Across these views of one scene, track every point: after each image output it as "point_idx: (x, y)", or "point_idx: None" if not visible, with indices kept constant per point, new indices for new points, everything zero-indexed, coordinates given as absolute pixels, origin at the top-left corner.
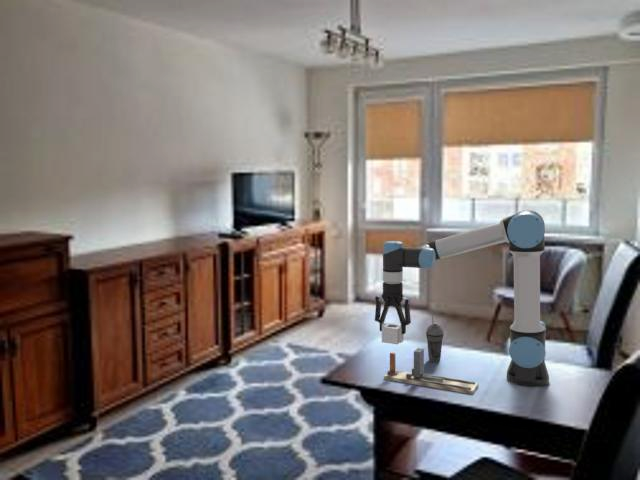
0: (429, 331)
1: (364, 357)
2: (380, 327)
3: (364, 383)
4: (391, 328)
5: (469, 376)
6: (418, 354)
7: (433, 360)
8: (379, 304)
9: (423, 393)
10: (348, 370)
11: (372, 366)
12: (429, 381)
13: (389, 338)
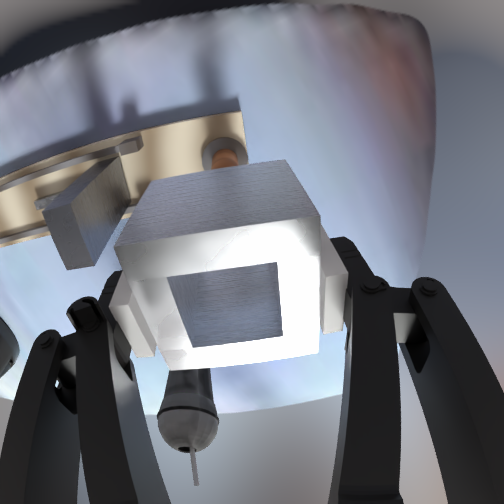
0: (191, 421)
1: (396, 265)
2: (352, 257)
3: (285, 27)
4: (187, 233)
5: (48, 296)
6: (53, 203)
7: None
8: (479, 484)
9: (46, 88)
10: (404, 127)
11: (345, 208)
12: (57, 164)
13: (216, 182)
